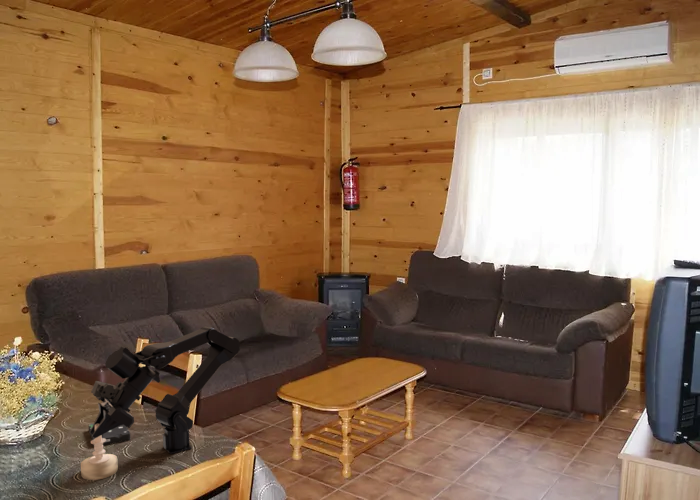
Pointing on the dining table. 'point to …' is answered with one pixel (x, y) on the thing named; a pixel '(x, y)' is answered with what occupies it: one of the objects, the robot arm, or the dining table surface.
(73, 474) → the dining table surface
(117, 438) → the disk drive
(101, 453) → the candle
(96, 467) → the stand
